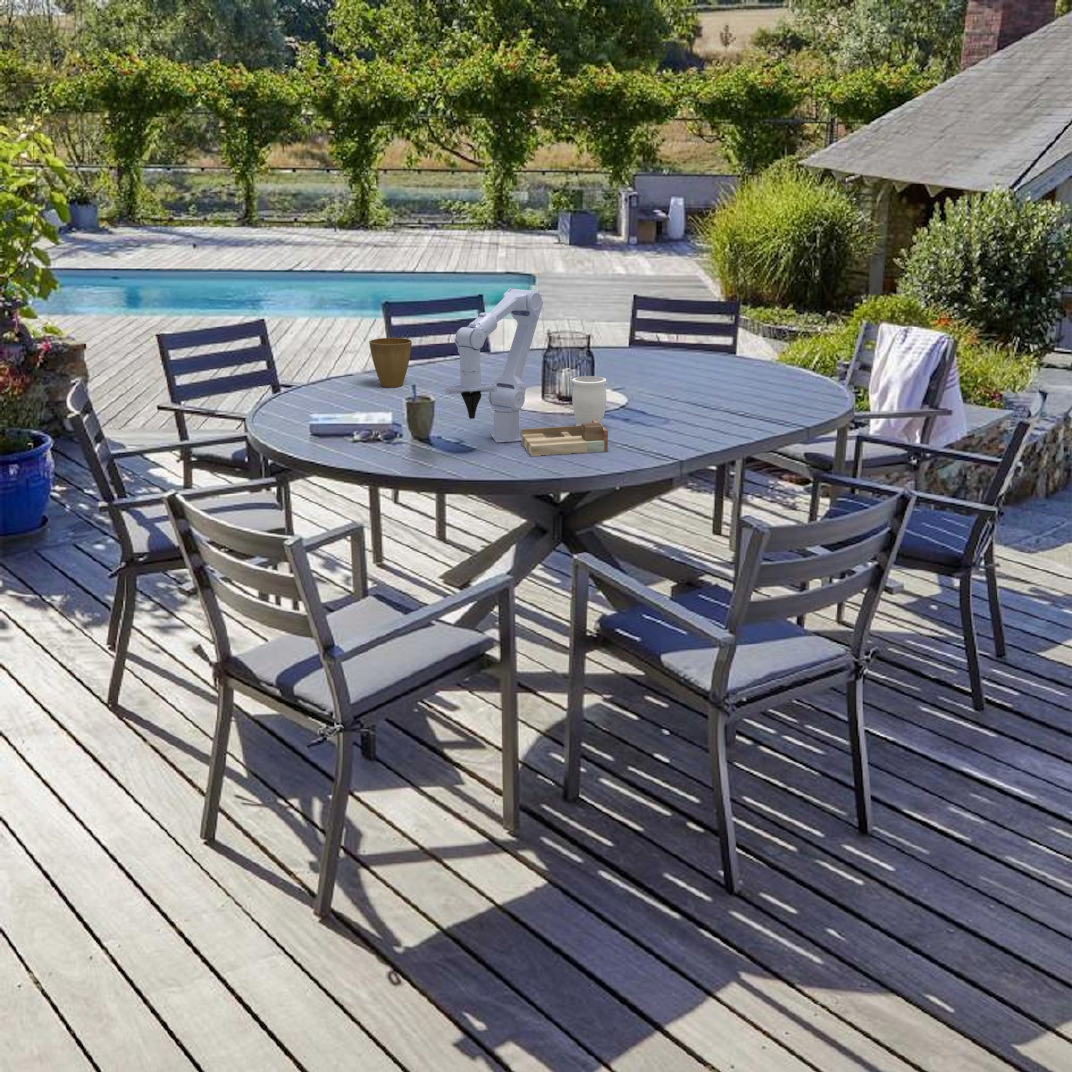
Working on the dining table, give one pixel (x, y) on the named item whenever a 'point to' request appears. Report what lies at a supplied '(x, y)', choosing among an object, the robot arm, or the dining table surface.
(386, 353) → the plant pot
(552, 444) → the trap box
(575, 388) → the jar
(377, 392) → the dining table surface
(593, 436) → the walnut block
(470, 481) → the dining table surface
